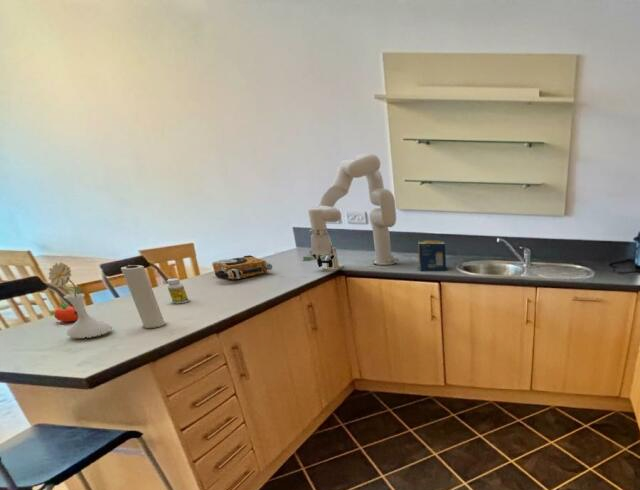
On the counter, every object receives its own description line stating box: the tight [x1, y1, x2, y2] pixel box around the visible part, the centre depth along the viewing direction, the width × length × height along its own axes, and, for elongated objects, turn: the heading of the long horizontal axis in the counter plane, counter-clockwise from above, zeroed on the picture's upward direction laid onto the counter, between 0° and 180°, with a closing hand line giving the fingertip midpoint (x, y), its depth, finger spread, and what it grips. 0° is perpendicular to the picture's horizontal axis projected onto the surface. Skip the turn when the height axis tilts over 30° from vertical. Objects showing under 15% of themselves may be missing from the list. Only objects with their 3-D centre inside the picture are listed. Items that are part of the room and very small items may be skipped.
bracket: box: [322, 246, 344, 270], centre depth 237 cm, size 10×8×12 cm
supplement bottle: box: [166, 277, 189, 304], centre depth 175 cm, size 5×5×10 cm
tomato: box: [53, 303, 78, 323], centre depth 152 cm, size 7×8×6 cm
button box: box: [302, 253, 325, 262], centre depth 260 cm, size 12×10×4 cm
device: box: [211, 254, 273, 280], centre depth 216 cm, size 23×8×30 cm
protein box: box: [417, 240, 447, 272], centre depth 245 cm, size 10×15×16 cm
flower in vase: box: [48, 261, 113, 339], centre depth 136 cm, size 13×11×25 cm
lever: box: [320, 256, 328, 264], centre depth 232 cm, size 12×5×2 cm, turn 179°
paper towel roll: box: [120, 264, 165, 329], centre depth 147 cm, size 7×6×21 cm
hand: (325, 266), depth 230 cm, fingers closed on lever, 5 cm apart
